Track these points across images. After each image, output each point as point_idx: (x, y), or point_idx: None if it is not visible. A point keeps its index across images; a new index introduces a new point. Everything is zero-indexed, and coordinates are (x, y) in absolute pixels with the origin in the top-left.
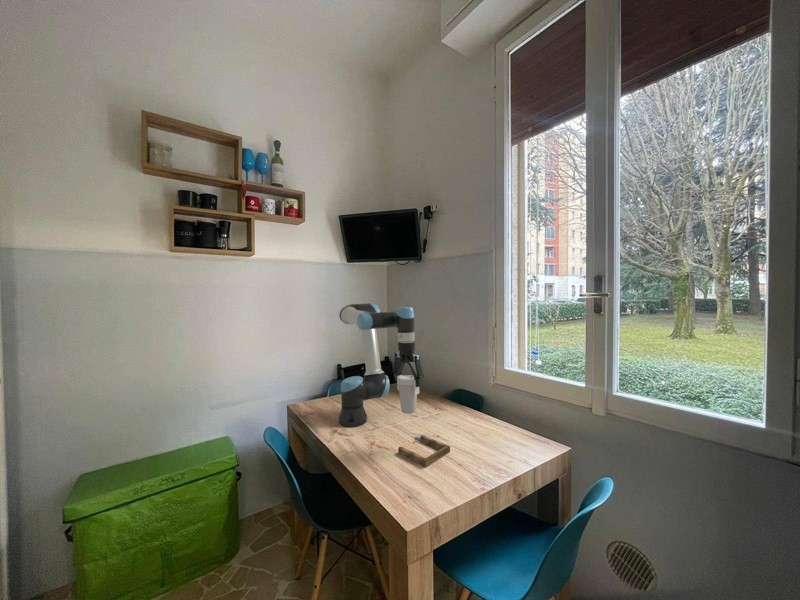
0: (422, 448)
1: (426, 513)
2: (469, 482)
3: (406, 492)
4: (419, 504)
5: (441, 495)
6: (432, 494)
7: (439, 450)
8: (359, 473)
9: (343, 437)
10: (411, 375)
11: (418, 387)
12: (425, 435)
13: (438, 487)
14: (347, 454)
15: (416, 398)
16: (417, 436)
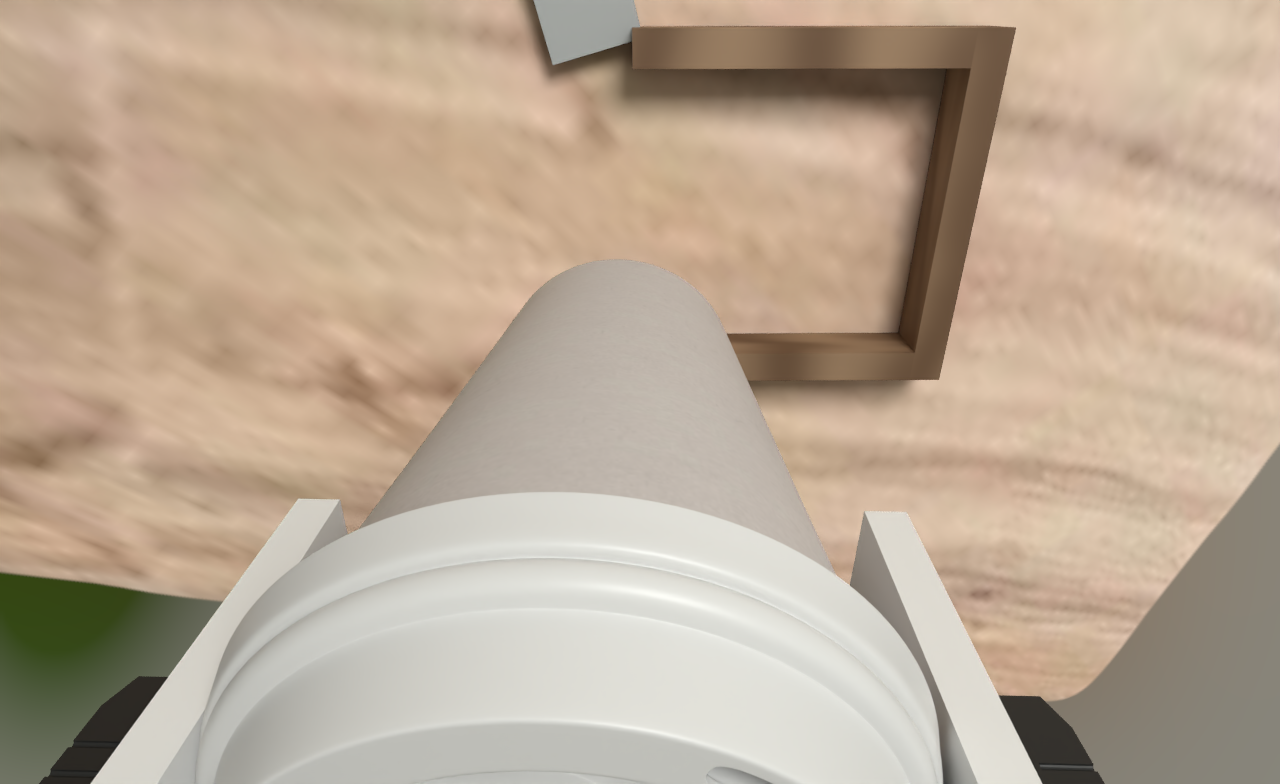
0: (735, 163)
1: (1110, 617)
2: (1269, 301)
3: (948, 584)
4: (1053, 600)
5: (1132, 496)
6: (1082, 518)
7: (959, 180)
8: None
9: (117, 474)
10: (412, 735)
11: (958, 646)
12: None
13: (1090, 459)
14: None
15: (758, 406)
16: (564, 37)
